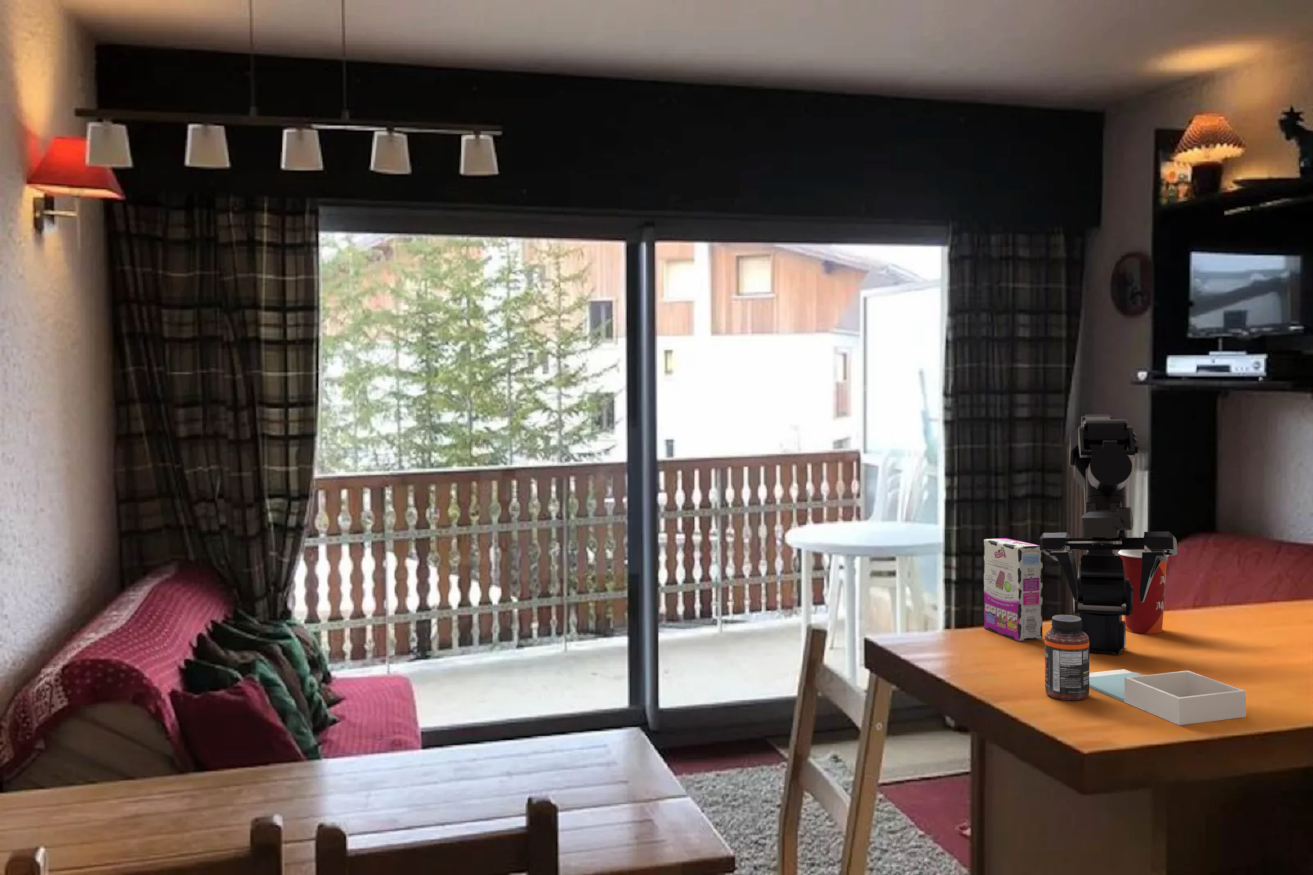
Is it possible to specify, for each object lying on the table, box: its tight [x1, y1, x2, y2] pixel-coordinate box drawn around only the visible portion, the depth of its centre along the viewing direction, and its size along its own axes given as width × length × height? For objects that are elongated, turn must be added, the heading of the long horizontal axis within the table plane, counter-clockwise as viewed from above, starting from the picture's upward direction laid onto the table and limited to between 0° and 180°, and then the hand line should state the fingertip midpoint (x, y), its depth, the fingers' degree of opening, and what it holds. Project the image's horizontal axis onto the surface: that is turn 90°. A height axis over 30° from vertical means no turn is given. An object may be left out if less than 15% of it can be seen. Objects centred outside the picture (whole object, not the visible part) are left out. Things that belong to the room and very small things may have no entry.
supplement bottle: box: [1044, 614, 1090, 702], centre depth 154 cm, size 6×6×11 cm
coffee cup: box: [1117, 550, 1170, 635], centre depth 191 cm, size 8×8×15 cm
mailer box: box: [1089, 668, 1247, 726], centre depth 153 cm, size 10×23×4 cm, turn 15°
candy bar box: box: [983, 537, 1044, 642], centre depth 190 cm, size 11×5×16 cm, turn 16°
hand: (1108, 601), depth 162 cm, fingers open, 9 cm apart
